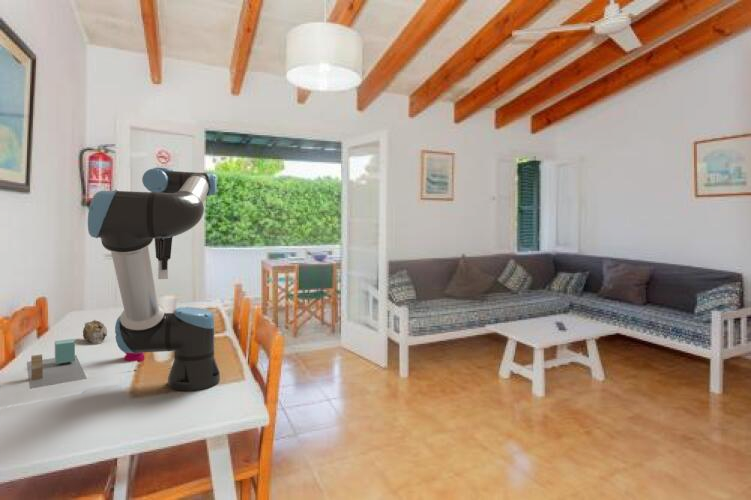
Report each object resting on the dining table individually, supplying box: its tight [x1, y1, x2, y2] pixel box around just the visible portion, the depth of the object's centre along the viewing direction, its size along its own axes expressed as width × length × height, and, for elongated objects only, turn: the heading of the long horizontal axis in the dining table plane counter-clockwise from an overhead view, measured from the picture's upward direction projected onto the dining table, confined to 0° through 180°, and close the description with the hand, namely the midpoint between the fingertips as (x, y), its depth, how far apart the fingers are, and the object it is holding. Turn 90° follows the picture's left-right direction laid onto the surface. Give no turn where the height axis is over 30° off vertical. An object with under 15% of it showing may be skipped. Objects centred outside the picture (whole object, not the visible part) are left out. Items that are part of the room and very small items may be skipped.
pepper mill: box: [123, 352, 145, 363], centre depth 156 cm, size 7×7×20 cm
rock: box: [82, 319, 108, 345], centre depth 179 cm, size 12×7×10 cm, turn 49°
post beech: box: [30, 354, 43, 380], centre depth 134 cm, size 3×3×7 cm
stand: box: [26, 354, 88, 389], centre depth 142 cm, size 30×14×1 cm, turn 40°
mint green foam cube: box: [54, 338, 76, 364], centre depth 148 cm, size 5×5×7 cm
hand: (163, 278), depth 153 cm, fingers closed
